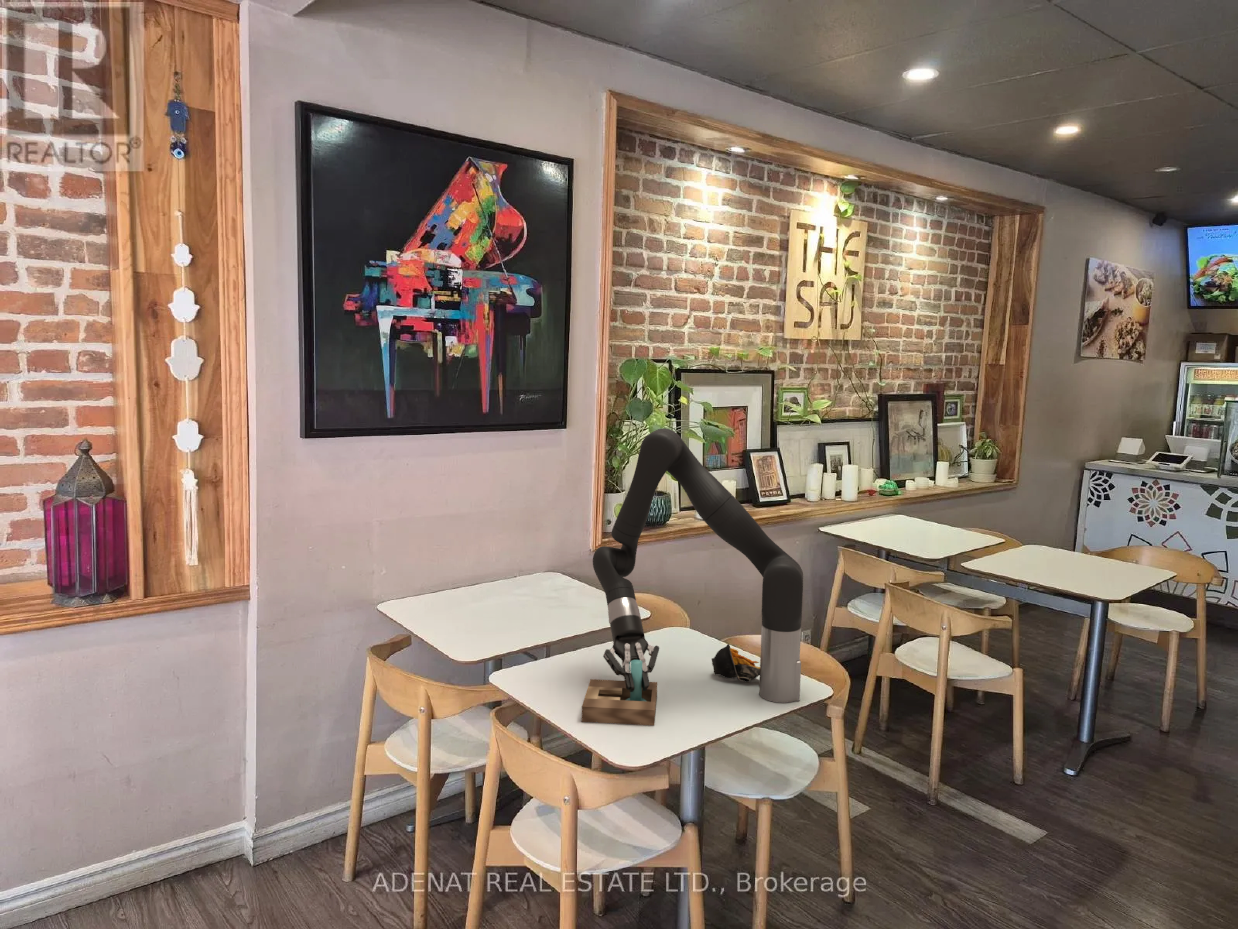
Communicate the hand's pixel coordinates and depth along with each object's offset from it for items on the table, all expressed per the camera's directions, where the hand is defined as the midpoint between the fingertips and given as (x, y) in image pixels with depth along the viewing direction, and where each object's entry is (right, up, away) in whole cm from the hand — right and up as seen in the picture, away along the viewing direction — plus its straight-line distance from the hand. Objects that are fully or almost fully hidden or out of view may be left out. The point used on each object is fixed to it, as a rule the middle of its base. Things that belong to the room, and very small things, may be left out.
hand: (638, 689), depth 185 cm
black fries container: (+28, -4, +22) cm, 35 cm away
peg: (-1, -5, +3) cm, 6 cm away
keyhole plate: (-4, -5, +3) cm, 7 cm away
